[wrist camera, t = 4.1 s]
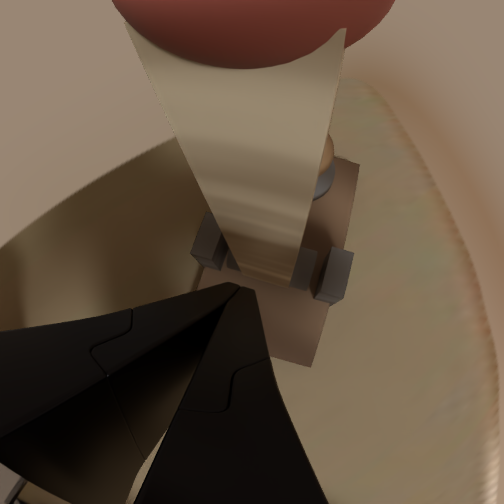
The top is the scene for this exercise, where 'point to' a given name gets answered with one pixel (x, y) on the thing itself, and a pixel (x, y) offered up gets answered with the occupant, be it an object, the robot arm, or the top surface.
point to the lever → (252, 110)
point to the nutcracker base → (324, 273)
